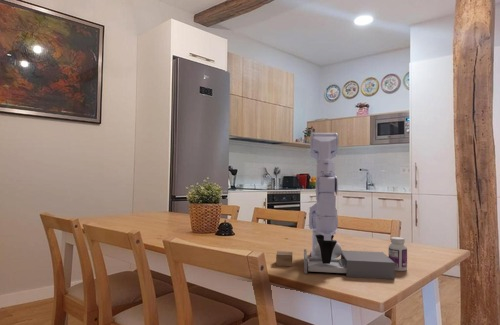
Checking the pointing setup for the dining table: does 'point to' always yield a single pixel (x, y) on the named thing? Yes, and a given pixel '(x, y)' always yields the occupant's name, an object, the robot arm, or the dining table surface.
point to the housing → (368, 264)
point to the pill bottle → (398, 253)
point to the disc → (336, 252)
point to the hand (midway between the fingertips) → (325, 260)
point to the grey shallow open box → (324, 265)
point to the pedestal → (283, 258)
